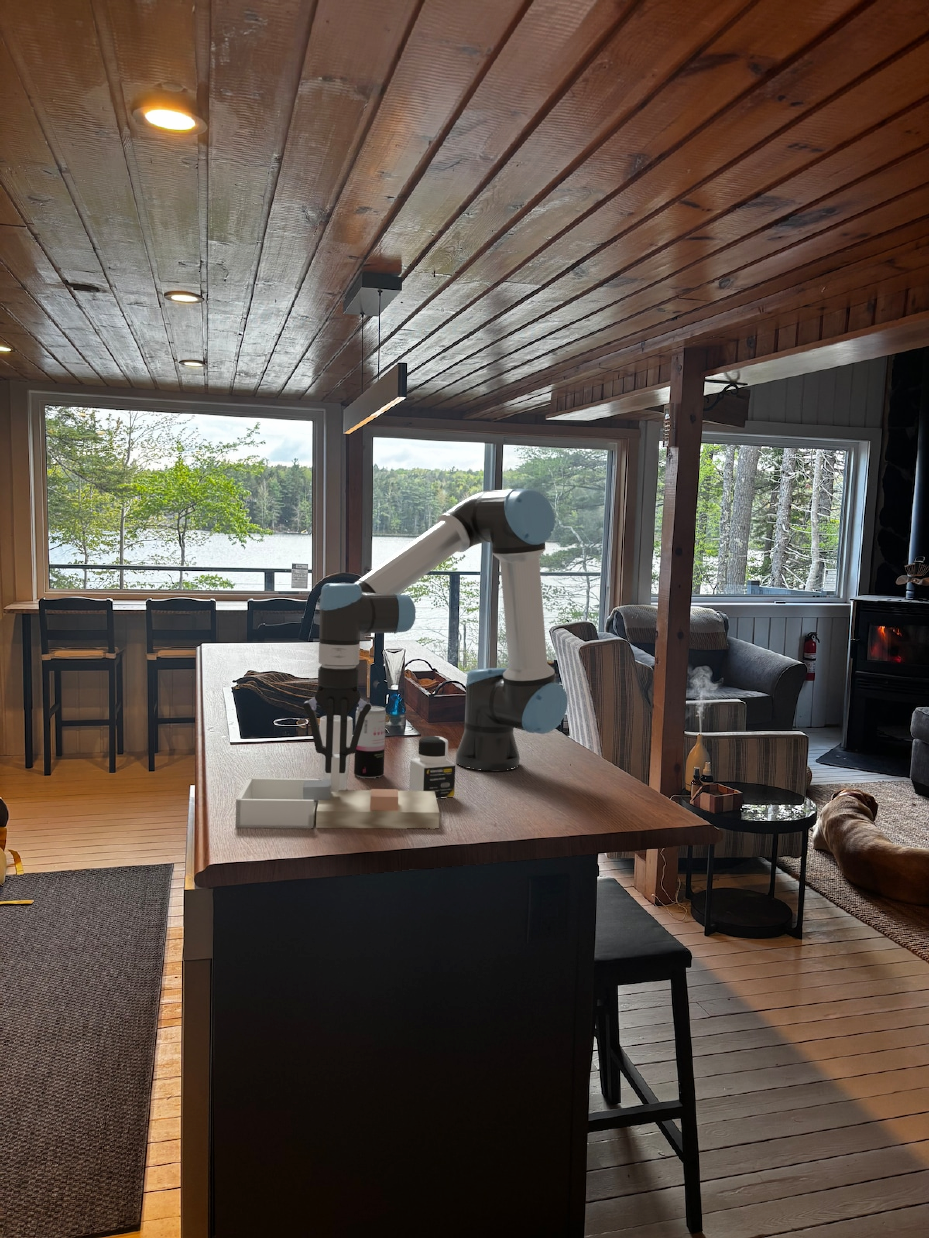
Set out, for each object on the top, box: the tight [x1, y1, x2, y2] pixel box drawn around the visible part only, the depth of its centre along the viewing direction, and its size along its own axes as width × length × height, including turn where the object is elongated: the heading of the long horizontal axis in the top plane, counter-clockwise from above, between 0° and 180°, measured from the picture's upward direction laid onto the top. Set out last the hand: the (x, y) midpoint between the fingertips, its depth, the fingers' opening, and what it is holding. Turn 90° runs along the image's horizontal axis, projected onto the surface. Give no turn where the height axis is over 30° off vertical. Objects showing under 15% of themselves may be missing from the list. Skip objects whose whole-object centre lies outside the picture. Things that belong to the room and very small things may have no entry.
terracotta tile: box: [370, 788, 399, 810], centre depth 161 cm, size 5×5×2 cm
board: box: [315, 789, 440, 830], centre depth 164 cm, size 22×14×3 cm, turn 96°
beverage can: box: [353, 705, 387, 779], centre depth 193 cm, size 7×6×15 cm
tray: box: [235, 777, 320, 829], centre depth 162 cm, size 14×15×5 cm
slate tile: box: [303, 779, 332, 800], centre depth 165 cm, size 5×5×2 cm
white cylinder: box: [319, 715, 354, 790], centre depth 181 cm, size 7×7×15 cm
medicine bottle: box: [408, 735, 456, 798], centre depth 180 cm, size 7×7×12 cm
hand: (334, 789), depth 166 cm, fingers closed
